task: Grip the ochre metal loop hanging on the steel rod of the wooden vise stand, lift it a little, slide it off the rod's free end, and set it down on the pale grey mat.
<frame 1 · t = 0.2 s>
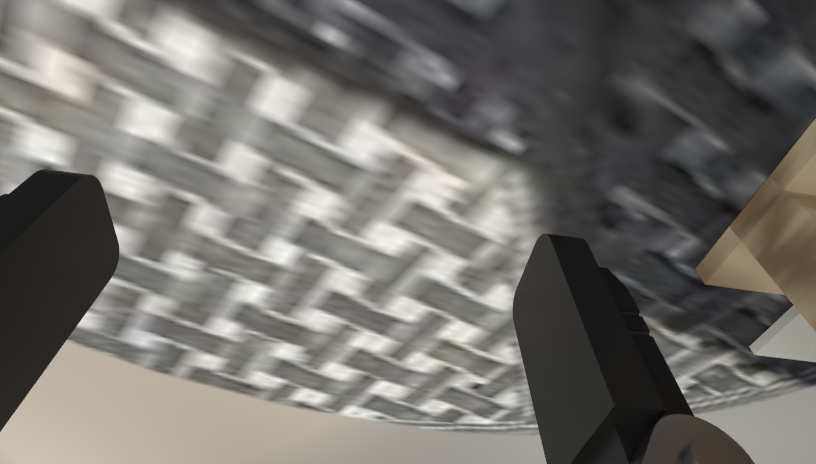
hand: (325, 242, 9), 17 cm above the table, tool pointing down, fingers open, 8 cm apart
vise stand: (811, 212, 30), on the table
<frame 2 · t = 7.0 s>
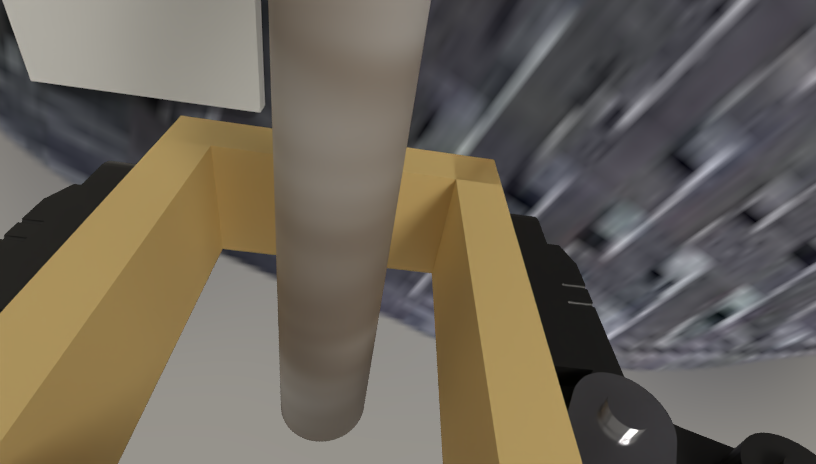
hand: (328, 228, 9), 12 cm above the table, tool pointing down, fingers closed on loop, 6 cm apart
loop: (338, 189, 10), point 10 cm above the table, touching gripper
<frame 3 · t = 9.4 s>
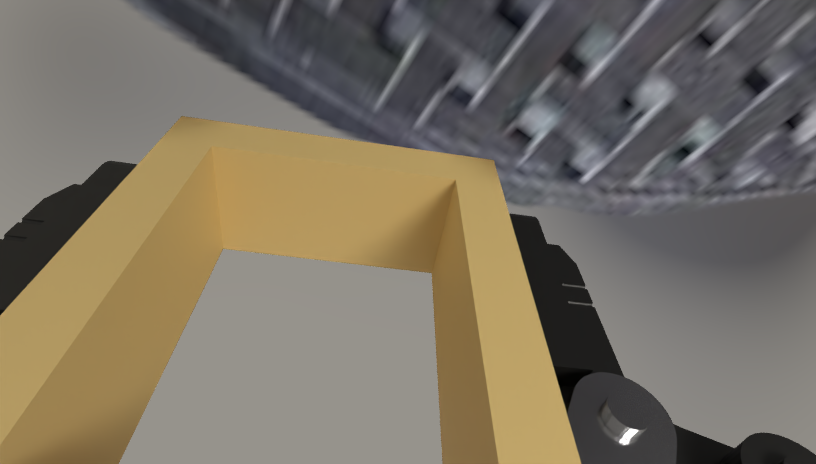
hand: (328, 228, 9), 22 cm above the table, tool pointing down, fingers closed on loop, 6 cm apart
loop: (338, 189, 10), point 20 cm above the table, touching gripper
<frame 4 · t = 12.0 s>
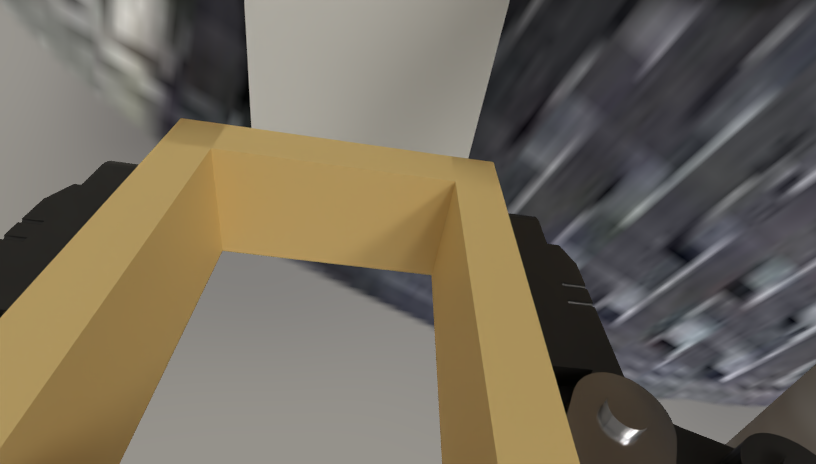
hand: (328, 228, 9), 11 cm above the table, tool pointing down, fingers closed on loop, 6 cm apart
loop: (338, 191, 10), point 10 cm above the table, touching gripper
mat: (371, 55, 18), on the table
when the fingers open (4 cm above the table, at t = 14.2 s): loop drops 1 cm, resting on mat.
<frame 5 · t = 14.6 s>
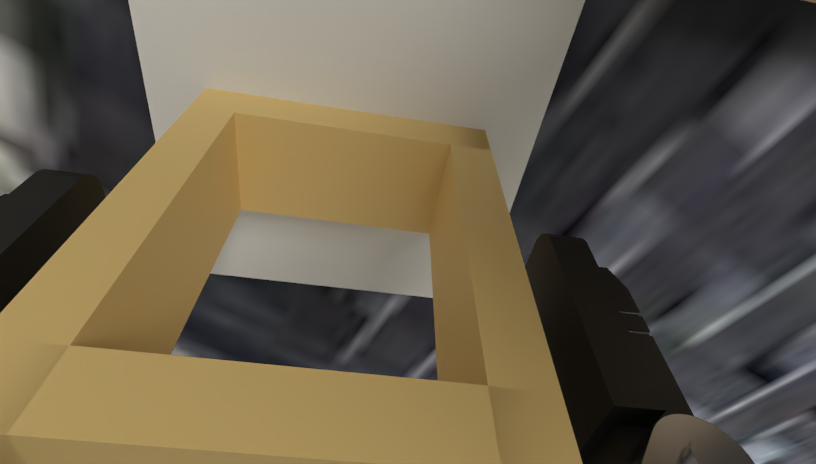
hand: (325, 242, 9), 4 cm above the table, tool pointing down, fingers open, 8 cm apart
loop: (345, 157, 12), point 1 cm above the table, touching mat
mat: (347, 142, 12), on the table
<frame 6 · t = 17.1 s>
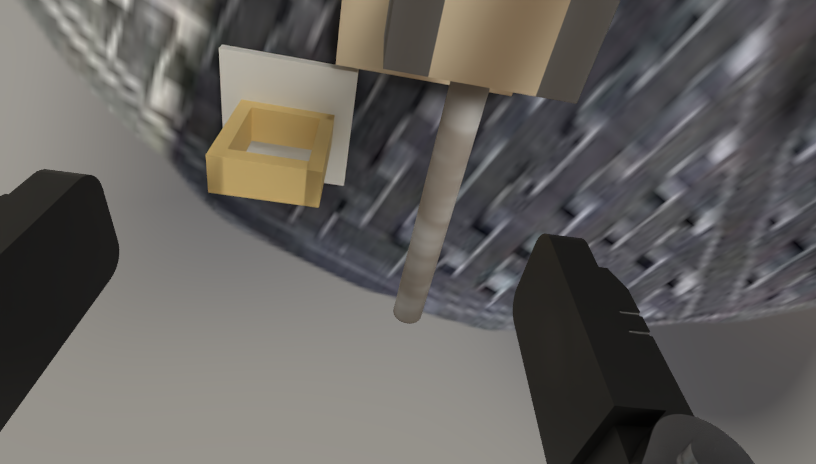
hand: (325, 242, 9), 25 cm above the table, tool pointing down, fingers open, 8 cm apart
vise stand: (439, 3, 30), on the table
loop: (287, 123, 33), point 1 cm above the table, touching mat
mat: (289, 119, 34), on the table
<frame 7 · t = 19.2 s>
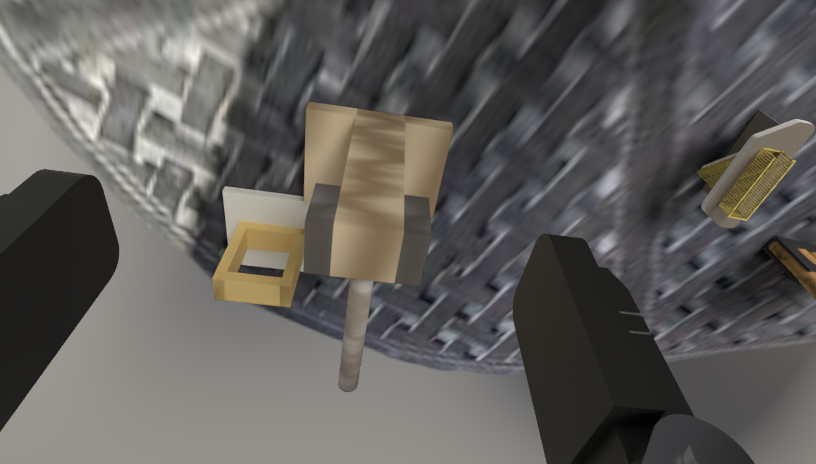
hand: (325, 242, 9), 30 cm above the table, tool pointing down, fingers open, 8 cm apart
vise stand: (375, 159, 42), on the table
loop: (273, 234, 46), point 1 cm above the table, touching mat
mat: (275, 230, 47), on the table
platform: (717, 146, 42), on the table
ammunition clip: (809, 251, 49), on the table
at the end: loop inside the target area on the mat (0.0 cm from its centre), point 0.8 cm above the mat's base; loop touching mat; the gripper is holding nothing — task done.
